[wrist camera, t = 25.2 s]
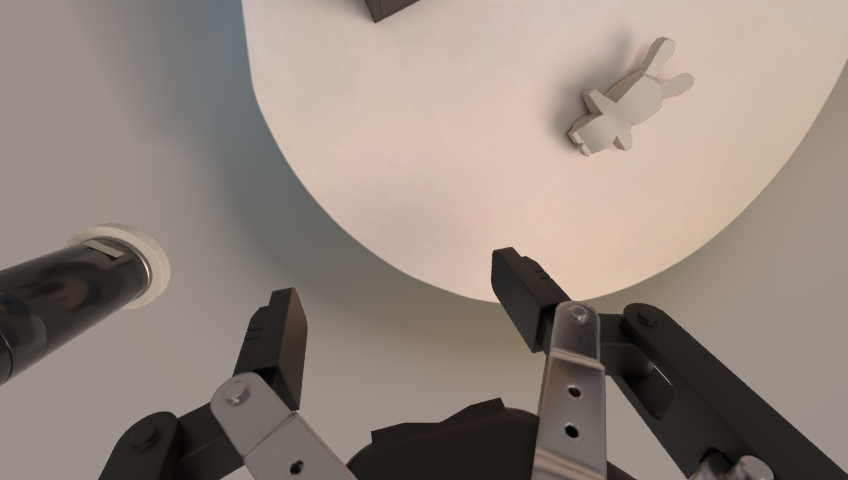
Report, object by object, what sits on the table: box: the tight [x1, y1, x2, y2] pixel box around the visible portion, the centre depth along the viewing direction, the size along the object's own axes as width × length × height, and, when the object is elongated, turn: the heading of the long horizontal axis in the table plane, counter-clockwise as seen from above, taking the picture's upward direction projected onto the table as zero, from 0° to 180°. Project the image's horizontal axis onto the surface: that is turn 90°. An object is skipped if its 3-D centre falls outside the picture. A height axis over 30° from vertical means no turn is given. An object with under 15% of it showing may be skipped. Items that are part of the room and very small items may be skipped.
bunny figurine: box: [568, 37, 694, 157], centre depth 42 cm, size 10×5×15 cm
